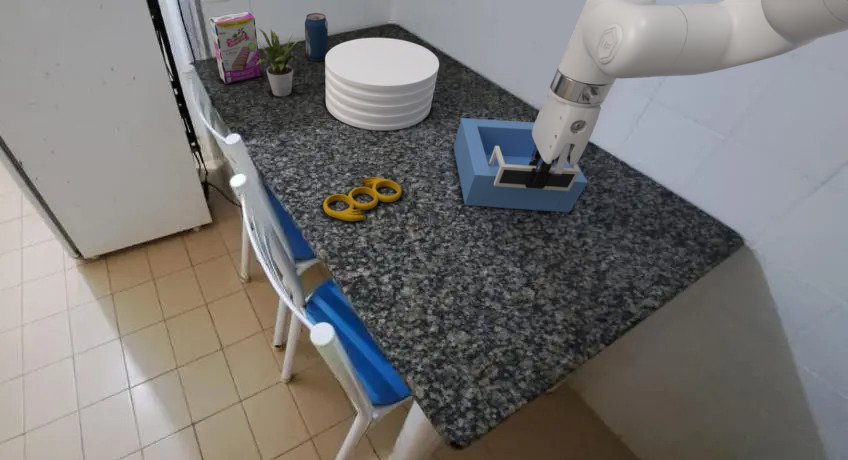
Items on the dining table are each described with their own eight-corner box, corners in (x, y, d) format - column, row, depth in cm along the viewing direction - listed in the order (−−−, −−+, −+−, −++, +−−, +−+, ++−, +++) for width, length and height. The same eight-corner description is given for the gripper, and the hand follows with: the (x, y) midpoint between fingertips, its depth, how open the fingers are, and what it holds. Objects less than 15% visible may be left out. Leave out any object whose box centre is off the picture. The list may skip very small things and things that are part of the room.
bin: (541, 152, 89) (555, 123, 84) (569, 212, 75) (587, 182, 70) (453, 147, 90) (461, 117, 85) (464, 205, 77) (474, 174, 71)
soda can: (331, 54, 126) (331, 14, 117) (322, 63, 121) (321, 21, 113) (311, 51, 127) (310, 11, 119) (302, 59, 123) (300, 18, 114)
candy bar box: (226, 85, 110) (213, 23, 98) (220, 78, 113) (207, 17, 101) (262, 76, 114) (254, 15, 103) (255, 70, 117) (247, 10, 106)
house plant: (241, 92, 108) (230, 29, 96) (277, 75, 115) (271, 15, 103) (277, 109, 102) (270, 44, 90) (312, 90, 109) (310, 27, 97)
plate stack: (452, 114, 100) (463, 70, 92) (357, 141, 92) (360, 95, 83) (393, 71, 118) (397, 31, 109) (308, 90, 109) (306, 48, 100)
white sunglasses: (569, 191, 70) (580, 171, 66) (494, 186, 70) (501, 166, 67) (558, 169, 74) (568, 150, 71) (488, 164, 75) (495, 145, 72)
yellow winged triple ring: (314, 197, 78) (335, 229, 72) (314, 191, 77) (335, 223, 70) (386, 176, 83) (412, 205, 77) (387, 170, 82) (413, 199, 75)
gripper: (629, 114, 51) (567, 215, 64) (588, 64, 62) (542, 160, 75) (570, 110, 51) (521, 212, 65) (539, 61, 62) (502, 157, 75)
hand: (532, 183), depth 70 cm, fingers closed
